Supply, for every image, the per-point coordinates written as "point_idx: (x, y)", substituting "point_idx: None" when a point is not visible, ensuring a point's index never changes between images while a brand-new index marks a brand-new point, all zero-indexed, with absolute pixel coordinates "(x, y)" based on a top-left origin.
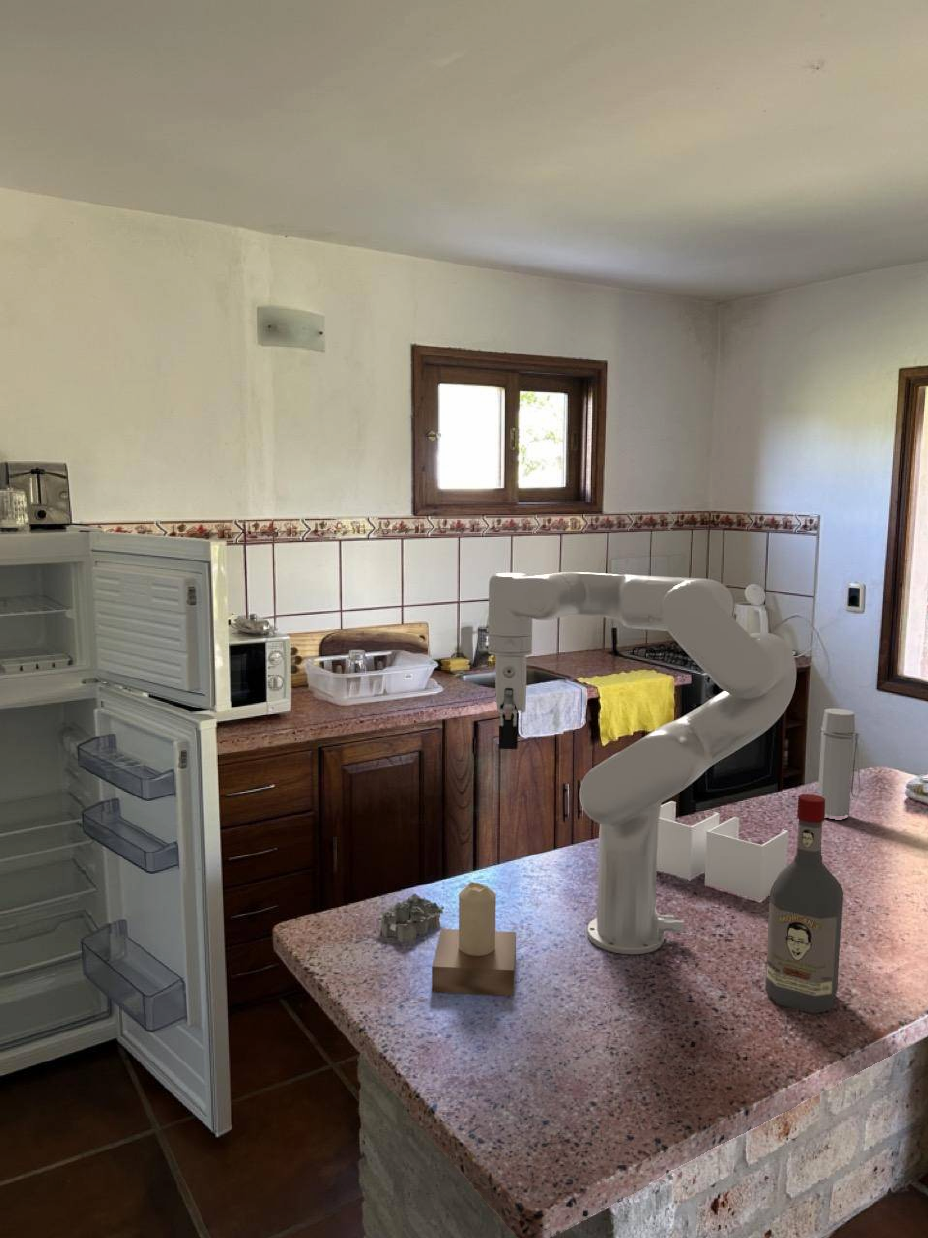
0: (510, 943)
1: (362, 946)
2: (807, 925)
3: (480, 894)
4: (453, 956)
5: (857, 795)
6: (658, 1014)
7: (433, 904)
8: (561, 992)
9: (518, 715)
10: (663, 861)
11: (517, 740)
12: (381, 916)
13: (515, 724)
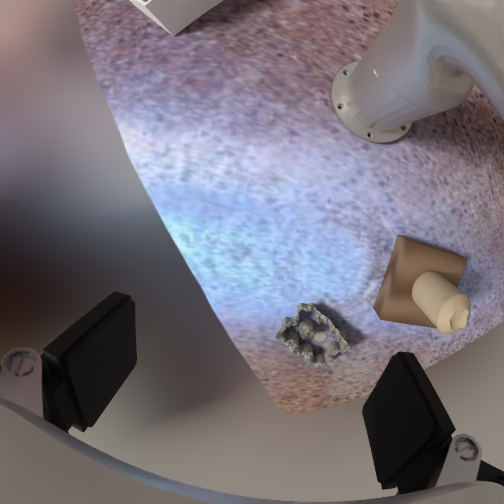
0: (428, 252)
1: (340, 368)
2: None
3: (468, 315)
4: None
5: None
6: (487, 141)
7: (298, 316)
8: (458, 208)
9: (66, 350)
10: (194, 10)
11: (426, 375)
12: (316, 364)
13: (475, 446)
